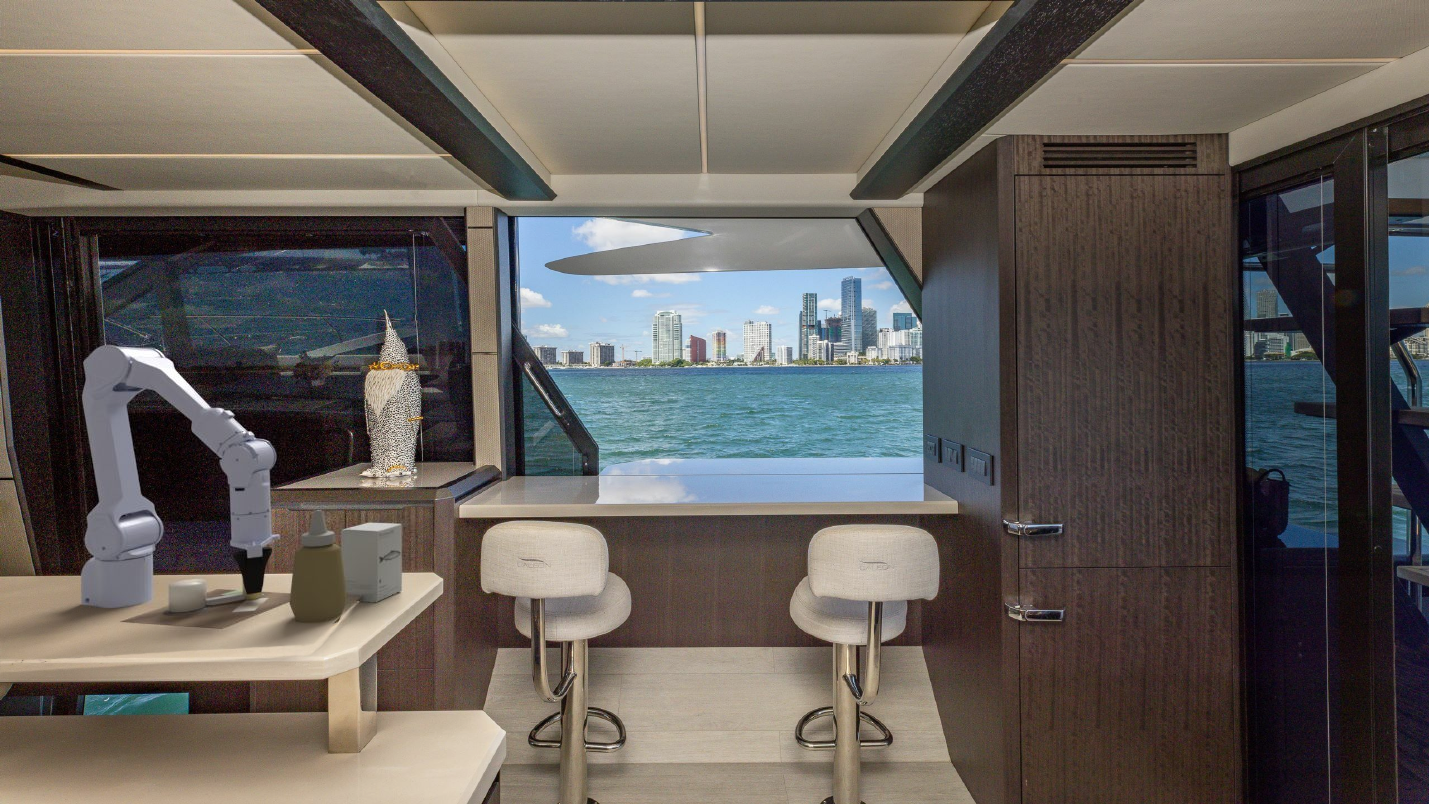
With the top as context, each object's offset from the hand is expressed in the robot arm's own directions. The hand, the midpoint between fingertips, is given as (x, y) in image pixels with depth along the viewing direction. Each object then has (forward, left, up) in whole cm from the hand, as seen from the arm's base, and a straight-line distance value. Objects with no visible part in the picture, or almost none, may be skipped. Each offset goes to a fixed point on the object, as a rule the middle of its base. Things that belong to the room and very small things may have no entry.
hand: (253, 592), depth 123 cm
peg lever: (-5, -3, -1) cm, 6 cm away
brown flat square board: (-3, -4, -3) cm, 6 cm away
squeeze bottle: (+16, -5, -3) cm, 17 cm away
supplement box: (+15, +10, -3) cm, 18 cm away
